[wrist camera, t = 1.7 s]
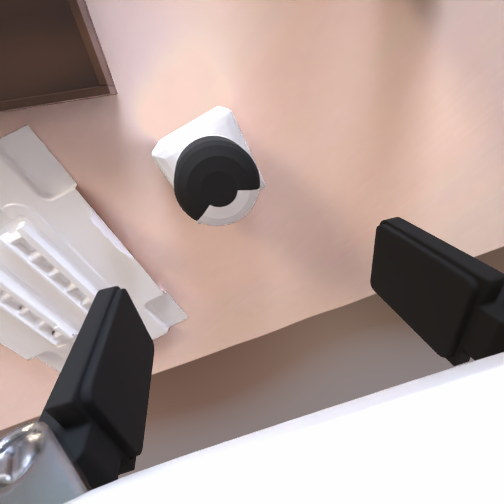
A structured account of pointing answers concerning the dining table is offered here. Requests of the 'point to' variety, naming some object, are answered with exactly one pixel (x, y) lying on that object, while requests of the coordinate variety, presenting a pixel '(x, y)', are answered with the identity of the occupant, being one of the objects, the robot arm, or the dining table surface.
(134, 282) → the tray
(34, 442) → the robot arm
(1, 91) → the dark wooden divided tray
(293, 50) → the dining table surface
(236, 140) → the medicine bottle
